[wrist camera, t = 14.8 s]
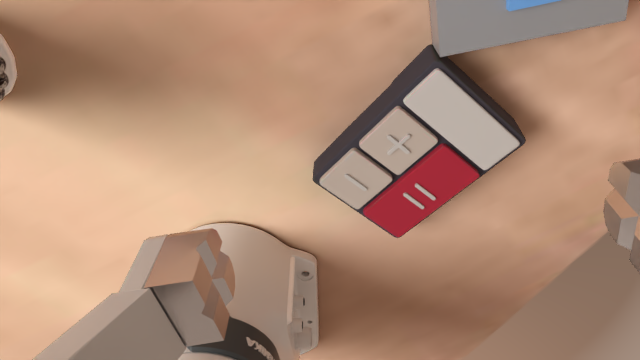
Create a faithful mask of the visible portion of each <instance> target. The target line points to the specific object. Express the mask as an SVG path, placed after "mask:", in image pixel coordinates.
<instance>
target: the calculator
mask: <svg viewBox="0 0 640 360" xmlns="http://www.w3.org/2000/svg"><path fill="white" fill-rule="evenodd" d="M525 141H526V140H525V137H524V135H523V134H522V132H521V130H520V129H519V127H518V125H517V124H516V122H515V120H514V119H513V118H512V117H511V116H510V115H509V114H508V113H507V112H506V111H505V110H504V109H503V108H502V107H501V106H499V105H498V104H497V103H496V102H495V101H494V100H493V99H492V98H491V97H490V96H489V95H488V94H487V93H485V92H484V91H483V90H482V89H481V88H480V87H479V86H478V85H477V84H476V83H475V82H474V81H473V80H472V79H470V78H469V77H468V76H467V75H466V74H465V73H464V72H463V71H462V70H461V69H460V68H459V67H458V66H456V65H455V64H454V63H453V62H452V61H451V60H450V59H449V58H448V57H447V56H444V57H440V56H439V55H438V53H437V51H436V50H435V48H434V46H433V45H428V46H427V47H426V48H425V49H424V50H423V51H422V52H421V53H420V54H419V55H418V56H417V57H416V58H415V59H414V60H413V61H412V62H411V63H410V64H409V65H408V66H407V67H406V68H405V69H404V70H403V71H402V72H401V73H400V74H399V75H398V76H397V77H396V78H395V80H394V81H393V82H392V84H391V85H390V86H389V87H388V88H387V89H386V90H385V91H384V92H383V93H382V94H381V95H380V96H379V97H378V98H377V99H376V100H375V101H374V102H373V103H372V104H371V105H370V106H369V107H368V108H367V109H366V110H365V111H364V112H363V113H362V114H361V115H360V116H359V117H358V118H357V119H356V120H355V121H354V122H353V123H352V124H351V125H350V126H349V127H348V128H347V129H346V130H345V131H344V132H343V133H342V134H341V135H340V136H339V137H338V138H337V139H336V140H335V141H334V142H333V143H332V144H331V145H330V146H329V147H328V148H327V149H326V150H325V151H324V152H323V153H322V154H321V155H320V156H319V157H318V158H317V159H316V160H315V162H314V169H313V181H314V182H315V183H316V184H318V185H319V186H321V187H322V188H324V189H325V190H327V191H328V192H329V193H331V194H332V195H334V196H335V197H337V198H338V199H340V200H341V201H343V202H344V203H346V204H347V205H348V206H350V207H351V208H353V209H354V210H356V211H357V212H359V213H360V214H362V215H363V216H364V217H366V218H367V219H369V220H370V221H372V222H373V223H375V224H376V225H378V226H379V227H381V228H382V229H383V230H385V231H386V232H388V233H389V234H391V235H392V236H394V237H396V238H399V237H401V236H402V235H404V234H405V233H406V232H408V231H409V230H410V229H412V228H413V227H414V226H416V225H417V224H418V223H420V222H421V221H422V220H424V219H425V218H426V217H428V216H429V215H430V214H432V213H433V212H434V211H436V210H437V209H438V208H440V207H441V206H442V205H444V204H445V203H446V202H448V201H449V200H450V199H451V198H453V197H454V196H455V195H457V194H458V193H459V192H461V191H462V190H463V189H465V188H466V187H467V186H469V185H470V184H471V183H473V182H474V181H475V180H477V179H478V178H479V177H481V176H482V175H483V174H485V173H486V172H487V171H489V170H490V169H491V168H493V167H494V166H495V165H497V164H498V163H499V162H501V161H502V160H503V159H505V158H506V157H507V156H509V155H510V154H511V153H513V152H514V151H515V150H517V149H518V148H519V147H521V146H522V145H523V144H524V143H525Z"/></svg>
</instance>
